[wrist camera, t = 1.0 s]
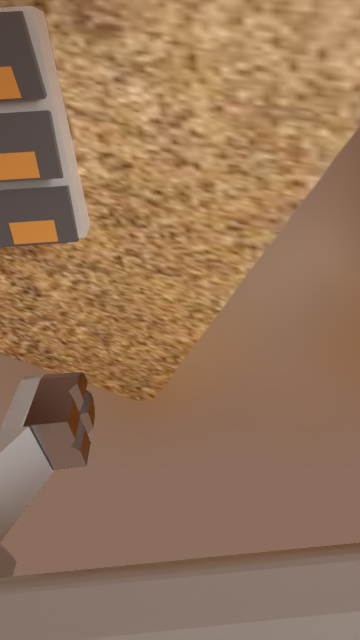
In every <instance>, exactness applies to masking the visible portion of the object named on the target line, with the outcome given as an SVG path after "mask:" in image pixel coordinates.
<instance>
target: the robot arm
mask: <svg viewBox="0 0 360 640" xmlns="http://www.w3.org/2000/svg"><path fill="white" fill-rule="evenodd" d="M87 383H88V381H87V379H86V376H85V374H84V373H82V372H77V373H62V374H47V375H39V376H25V377H24V378H23V379H22V380H21V381H20V383H19V386H18V388H17V390H16V393H15V395H14V397H13V399H12V402H11V404H10V406H9V409H8V411H7V413H6V415H5V418H4V420H3V422H2V425H1V427H0V542H1V541H2V540H3V538H4V537H5V536H6V534H7V533H8V532H9V530H10V529H11V528H12V526H13V525H14V524H15V522H16V521H17V520H18V518H19V517H20V516H21V514H22V513H23V512H24V510H25V509H26V508H27V507H28V505H29V504H30V503H31V501H32V500H33V499H34V497H35V496H36V495H37V493H38V492H39V491H40V489H41V488H42V487H43V485H44V484H45V483H46V481H47V480H48V479H49V477H50V476H51V475H52V473H53V470H58V469H66V468H74V467H82V466H87V460H88V455H89V449H90V444H91V442H90V440H89V437H88V433H89V432H90V431H91V430H92V429H93V426H94V419H95V407H94V400H93V397H92V394H91V393H90V392H89V391H87V390H86V388H87ZM15 566H16V560H15V559H14V557H13V555H11V554H10V552H9V551H8V550H7V549H6V548H5V547H4V546H3V545H2V544H1V543H0V640H360V543H352V544H351V543H350V544H341V545H331V546H320V547H309V548H299V549H289V550H279V551H268V552H259V553H248V554H237V555H228V556H217V557H207V558H196V559H186V560H176V561H166V562H156V563H145V564H135V565H125V566H116V567H115V566H114V567H104V568H94V569H85V570H74V571H63V572H54V573H43V574H33V575H22V576H13V573H14V569H15Z"/></svg>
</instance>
